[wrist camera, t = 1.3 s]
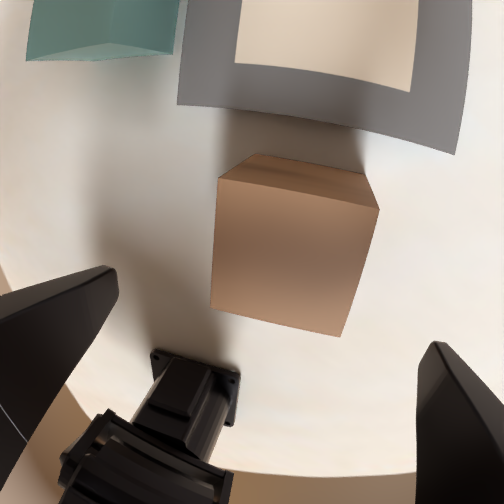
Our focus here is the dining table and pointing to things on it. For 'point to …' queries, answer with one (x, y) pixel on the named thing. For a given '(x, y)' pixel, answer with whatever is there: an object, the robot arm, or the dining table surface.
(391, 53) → the grey square frame
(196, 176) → the dining table surface
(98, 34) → the teal block
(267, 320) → the walnut block
